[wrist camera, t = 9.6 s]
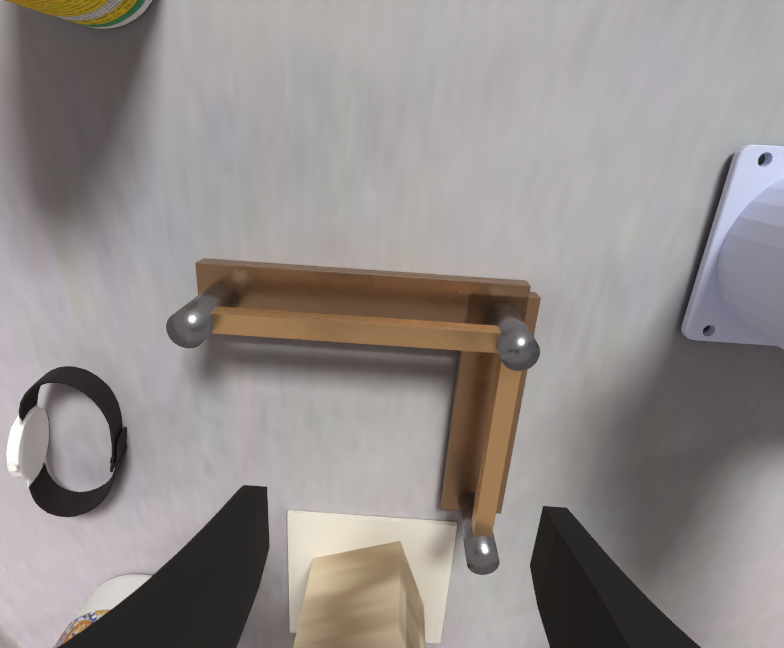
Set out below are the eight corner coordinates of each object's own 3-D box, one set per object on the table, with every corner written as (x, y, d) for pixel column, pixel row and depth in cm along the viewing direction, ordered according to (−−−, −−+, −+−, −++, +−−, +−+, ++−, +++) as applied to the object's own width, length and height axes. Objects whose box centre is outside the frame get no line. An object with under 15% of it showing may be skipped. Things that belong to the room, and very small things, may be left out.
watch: (34, 351, 23) (-30, 388, 20) (133, 367, 23) (86, 406, 20) (50, 481, 26) (-4, 533, 22) (138, 494, 26) (97, 547, 22)
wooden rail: (537, 281, 21) (570, 317, 17) (497, 505, 25) (515, 576, 21) (203, 258, 21) (153, 288, 17) (221, 486, 25) (185, 553, 21)
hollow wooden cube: (400, 540, 26) (399, 629, 21) (424, 605, 28) (427, 700, 23) (312, 558, 26) (293, 648, 22) (341, 620, 28) (328, 716, 24)
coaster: (456, 522, 26) (457, 526, 25) (439, 638, 29) (440, 643, 29) (288, 510, 26) (287, 514, 25) (290, 627, 29) (289, 632, 29)
